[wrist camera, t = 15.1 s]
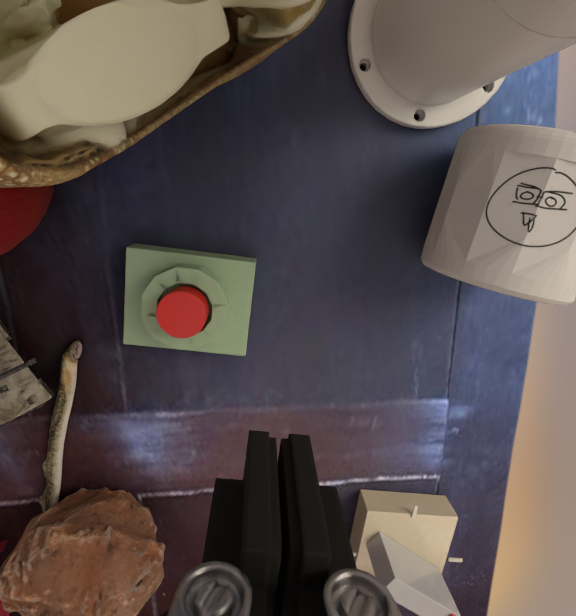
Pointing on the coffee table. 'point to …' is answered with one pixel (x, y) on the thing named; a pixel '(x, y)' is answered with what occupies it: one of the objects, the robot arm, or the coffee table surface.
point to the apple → (21, 213)
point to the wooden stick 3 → (60, 425)
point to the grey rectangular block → (410, 578)
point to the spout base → (404, 525)
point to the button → (182, 312)
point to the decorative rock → (85, 558)
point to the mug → (509, 213)
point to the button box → (197, 274)
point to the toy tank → (18, 383)
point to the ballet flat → (119, 72)
